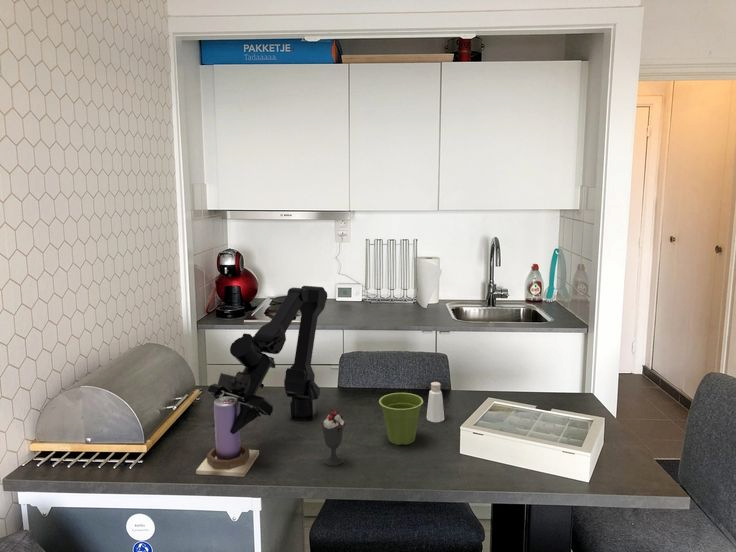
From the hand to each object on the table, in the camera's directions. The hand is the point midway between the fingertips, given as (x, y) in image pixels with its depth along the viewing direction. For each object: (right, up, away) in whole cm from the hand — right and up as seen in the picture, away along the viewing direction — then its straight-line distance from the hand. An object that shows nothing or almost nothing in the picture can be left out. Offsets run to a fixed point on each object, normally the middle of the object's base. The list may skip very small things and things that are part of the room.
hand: (223, 430), depth 149 cm
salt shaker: (+55, -4, +28) cm, 63 cm away
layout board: (+1, -9, +3) cm, 9 cm away
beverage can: (+1, -7, +3) cm, 8 cm away
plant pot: (+45, -7, +15) cm, 48 cm away
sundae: (+27, -9, +3) cm, 29 cm away
